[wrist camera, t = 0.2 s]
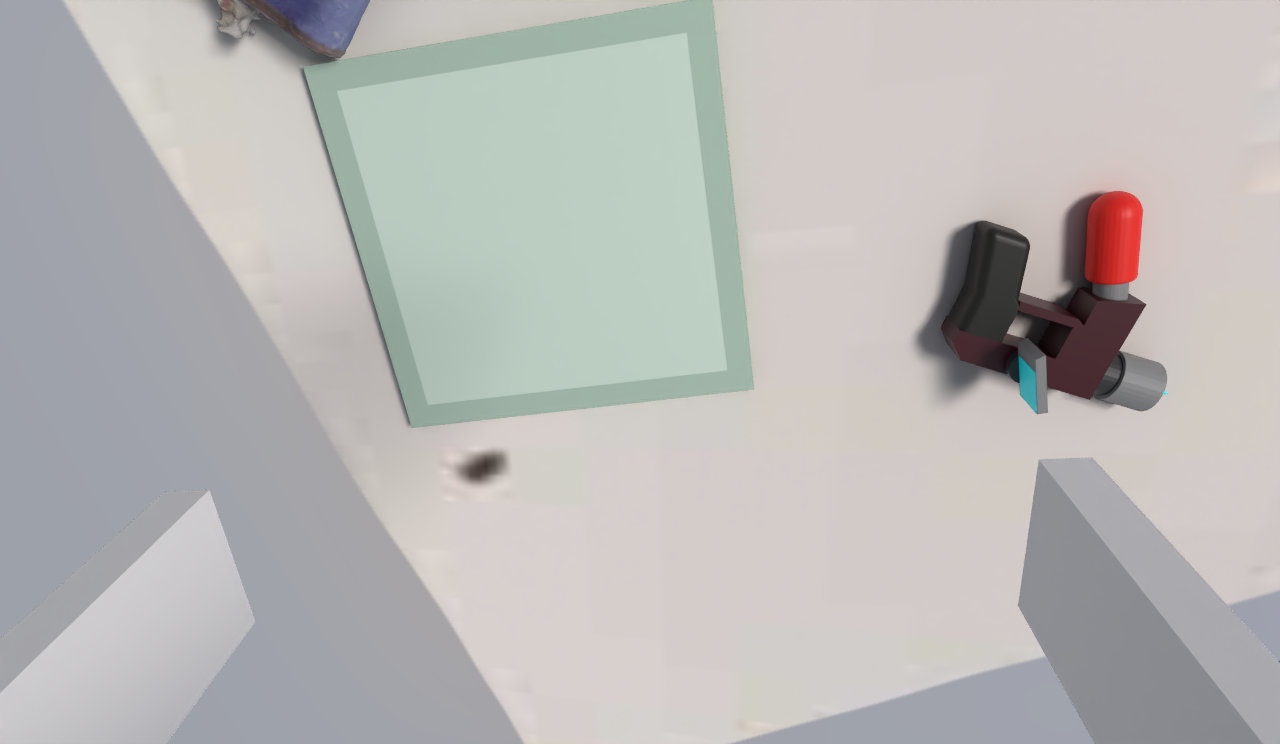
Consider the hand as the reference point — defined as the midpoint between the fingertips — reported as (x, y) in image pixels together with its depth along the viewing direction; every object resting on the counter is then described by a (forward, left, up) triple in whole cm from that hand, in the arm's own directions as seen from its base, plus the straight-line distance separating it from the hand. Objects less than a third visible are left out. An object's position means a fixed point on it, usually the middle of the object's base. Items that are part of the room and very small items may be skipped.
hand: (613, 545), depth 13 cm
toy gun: (+7, +19, -27) cm, 33 cm away
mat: (+1, -6, -26) cm, 27 cm away
